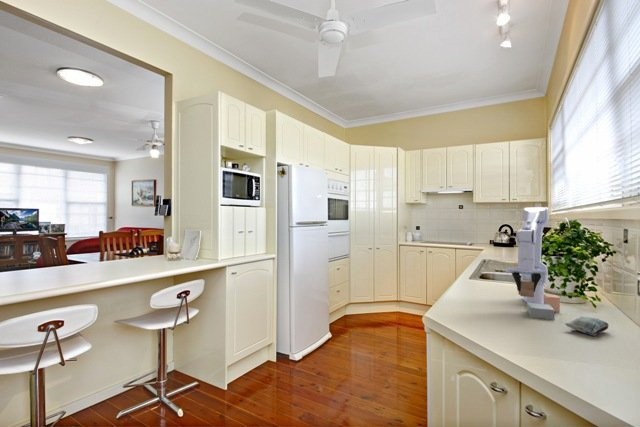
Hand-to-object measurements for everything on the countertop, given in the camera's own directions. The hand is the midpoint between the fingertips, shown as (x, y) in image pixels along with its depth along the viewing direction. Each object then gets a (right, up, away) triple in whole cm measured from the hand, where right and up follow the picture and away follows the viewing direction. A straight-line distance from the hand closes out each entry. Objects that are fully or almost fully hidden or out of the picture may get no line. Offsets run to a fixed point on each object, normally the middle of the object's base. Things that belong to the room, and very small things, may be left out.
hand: (526, 291), depth 135 cm
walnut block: (0, -2, 0) cm, 2 cm away
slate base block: (+3, -9, -4) cm, 10 cm away
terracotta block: (+13, -9, +3) cm, 16 cm away
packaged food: (+7, -9, -22) cm, 25 cm away
